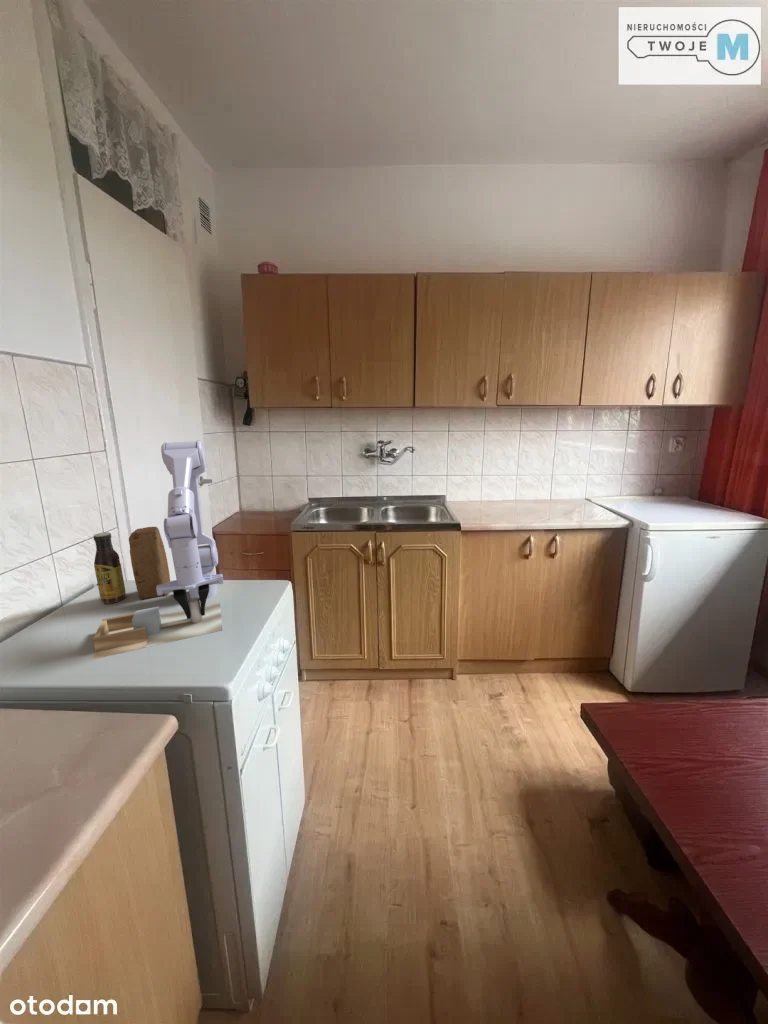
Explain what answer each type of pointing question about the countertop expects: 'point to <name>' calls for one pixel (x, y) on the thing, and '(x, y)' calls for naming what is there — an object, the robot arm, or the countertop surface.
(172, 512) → the robot arm
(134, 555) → the block
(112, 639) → the shelf lane
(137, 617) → the block
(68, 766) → the countertop surface
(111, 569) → the sauce bottle
